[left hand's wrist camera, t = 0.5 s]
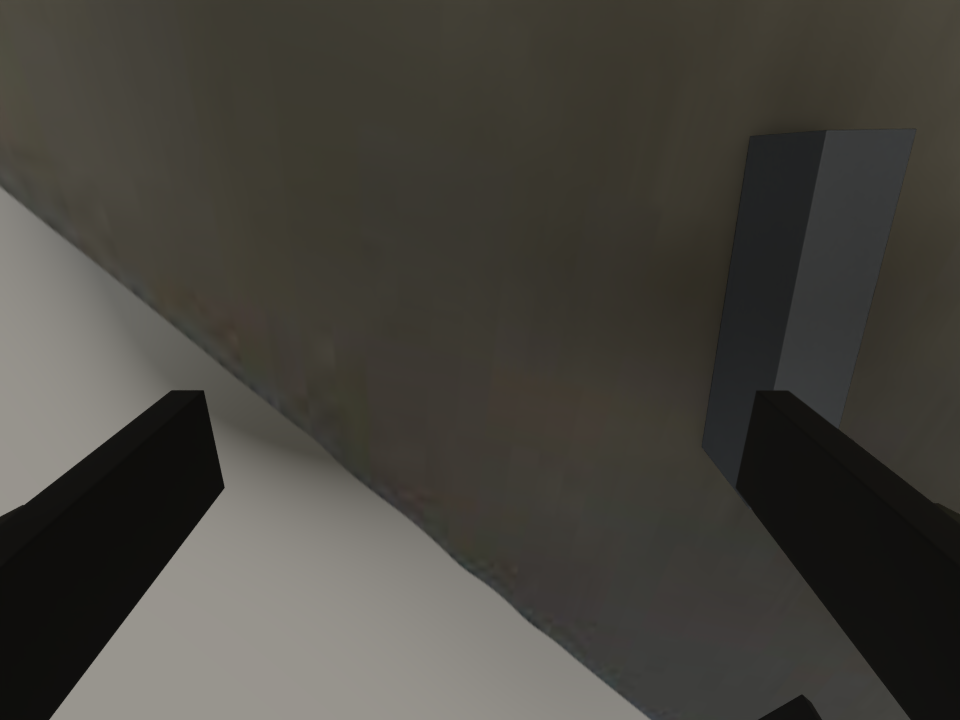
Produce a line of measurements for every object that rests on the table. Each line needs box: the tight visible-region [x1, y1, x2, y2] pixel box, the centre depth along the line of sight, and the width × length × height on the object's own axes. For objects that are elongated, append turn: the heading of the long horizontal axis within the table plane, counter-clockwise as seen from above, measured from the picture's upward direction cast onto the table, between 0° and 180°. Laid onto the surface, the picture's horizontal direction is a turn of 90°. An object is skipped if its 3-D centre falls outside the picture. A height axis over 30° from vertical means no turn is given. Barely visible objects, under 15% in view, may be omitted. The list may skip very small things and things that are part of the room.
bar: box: [702, 129, 916, 509], centre depth 35 cm, size 24×5×8 cm, turn 1°
